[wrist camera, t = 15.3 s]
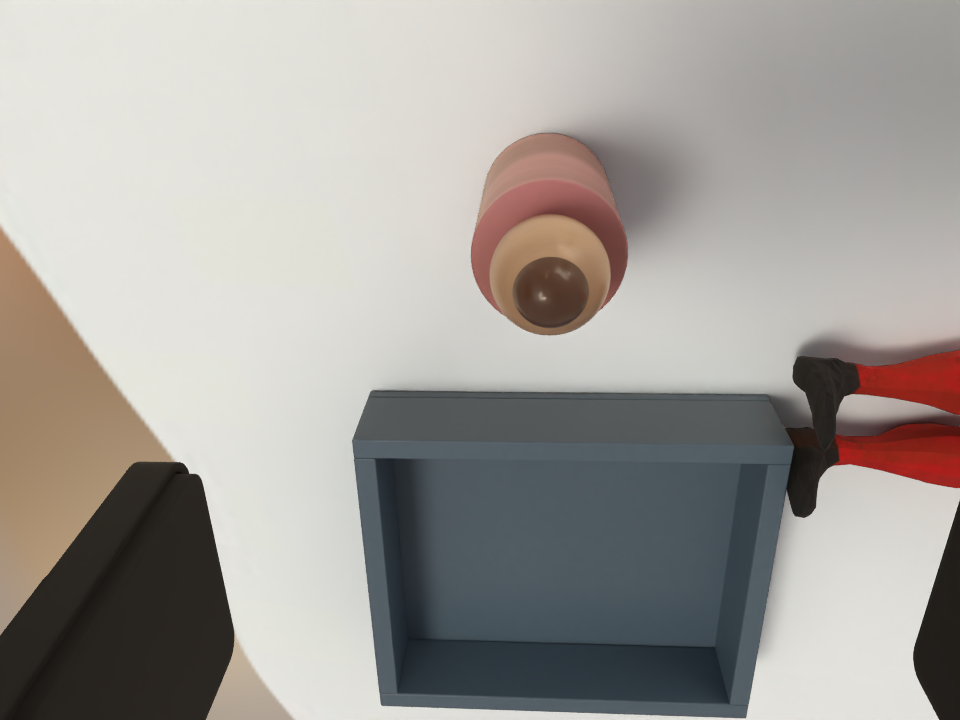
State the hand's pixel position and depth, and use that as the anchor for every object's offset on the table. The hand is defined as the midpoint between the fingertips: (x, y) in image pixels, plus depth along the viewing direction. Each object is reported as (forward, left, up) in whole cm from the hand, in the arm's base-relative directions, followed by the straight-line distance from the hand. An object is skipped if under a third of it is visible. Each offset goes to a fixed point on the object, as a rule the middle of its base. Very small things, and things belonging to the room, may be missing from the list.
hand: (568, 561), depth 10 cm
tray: (+15, +1, -20) cm, 25 cm away
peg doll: (+1, 0, -20) cm, 20 cm away
